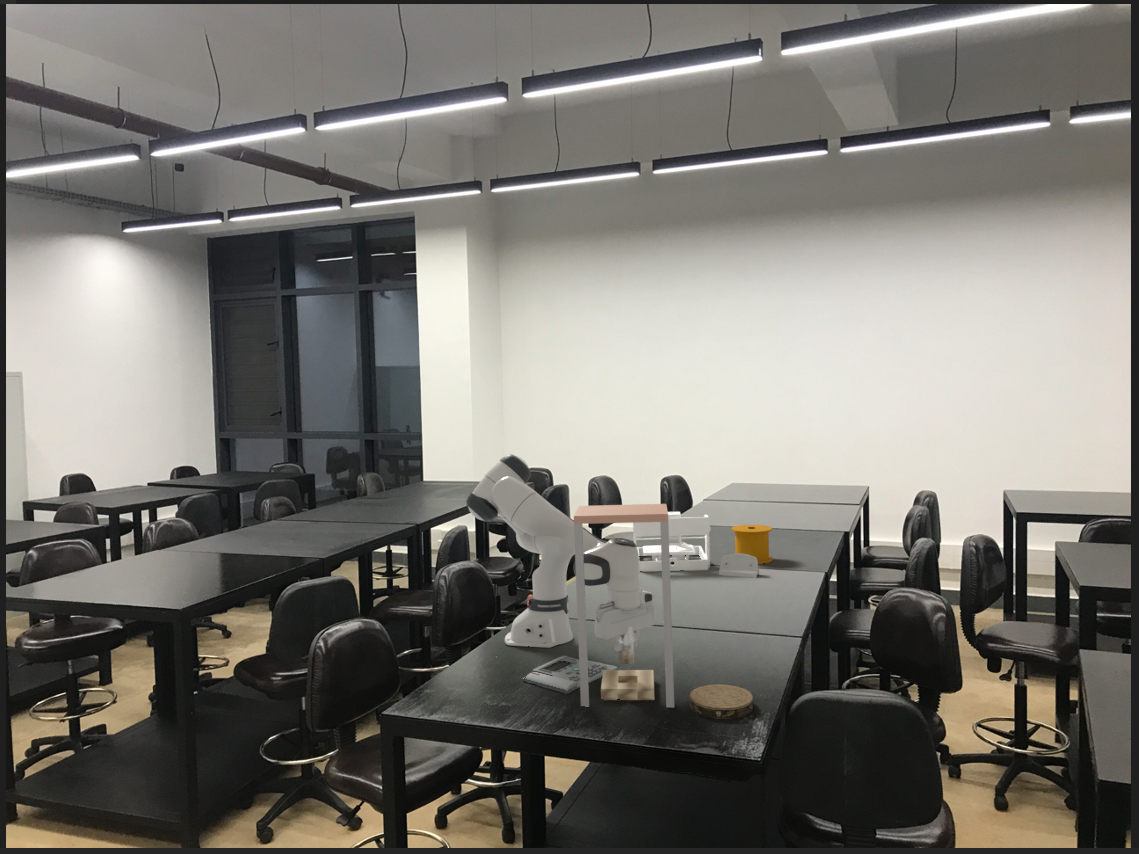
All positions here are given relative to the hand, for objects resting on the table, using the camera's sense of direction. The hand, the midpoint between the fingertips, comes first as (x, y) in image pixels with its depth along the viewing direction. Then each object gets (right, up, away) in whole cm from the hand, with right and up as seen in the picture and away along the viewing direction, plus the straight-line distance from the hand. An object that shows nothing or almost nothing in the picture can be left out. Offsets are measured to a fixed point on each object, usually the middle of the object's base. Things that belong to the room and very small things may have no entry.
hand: (626, 648), depth 223 cm
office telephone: (-16, -12, +13) cm, 24 cm away
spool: (+68, -1, +151) cm, 165 cm away
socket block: (+1, -11, -1) cm, 11 cm away
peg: (0, -4, 0) cm, 4 cm away
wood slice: (+23, -12, -14) cm, 30 cm away
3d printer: (+31, -2, +152) cm, 155 cm away
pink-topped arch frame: (0, -11, -4) cm, 12 cm away
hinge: (+57, -3, +125) cm, 137 cm away
